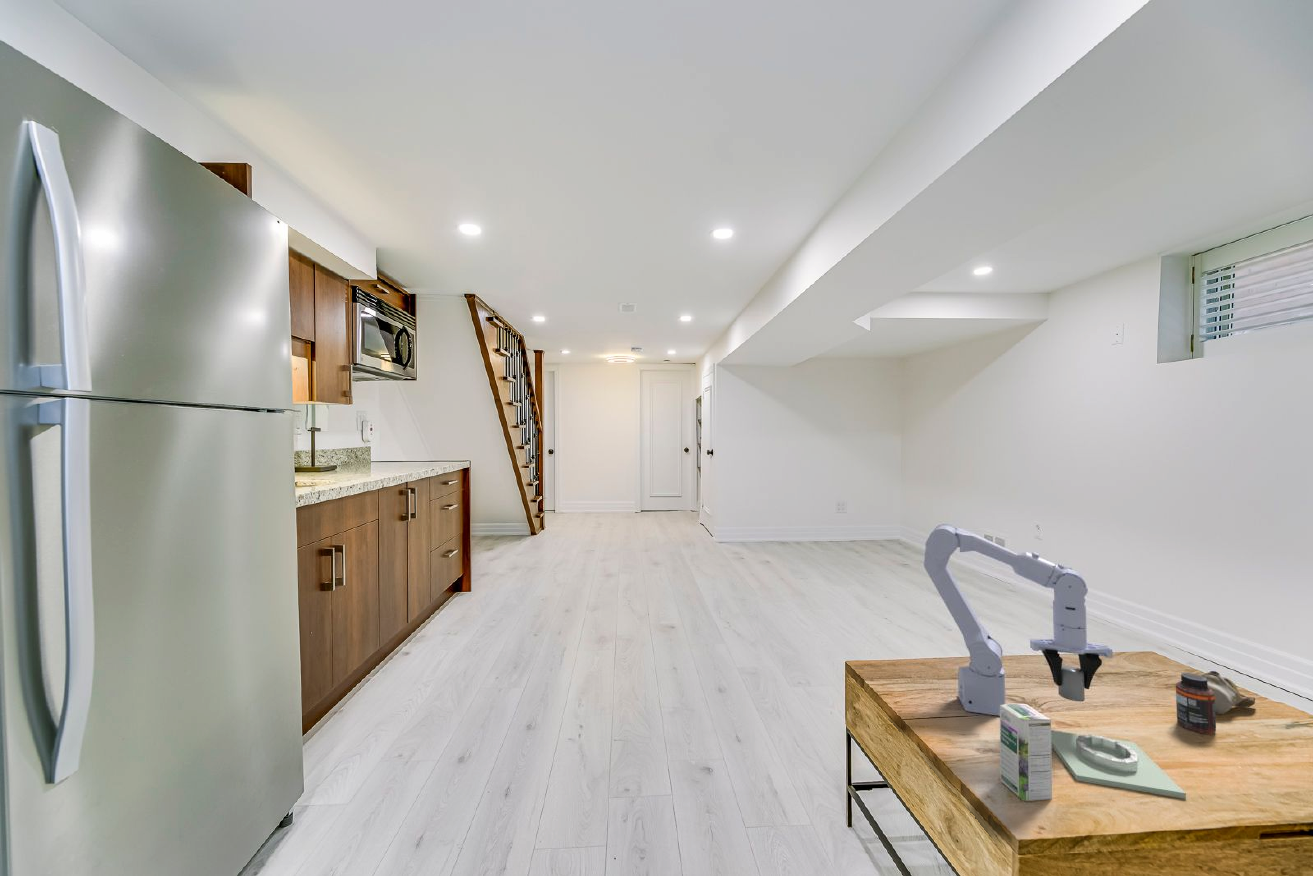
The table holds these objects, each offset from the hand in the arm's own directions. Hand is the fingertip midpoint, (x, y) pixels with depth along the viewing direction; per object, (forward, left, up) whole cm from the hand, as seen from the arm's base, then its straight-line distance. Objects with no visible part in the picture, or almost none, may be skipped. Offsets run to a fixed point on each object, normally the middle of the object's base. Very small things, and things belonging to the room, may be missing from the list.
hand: (1071, 685), depth 112 cm
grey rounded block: (0, 0, -2) cm, 2 cm away
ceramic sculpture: (+37, +22, -10) cm, 44 cm away
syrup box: (-17, -27, -10) cm, 33 cm away
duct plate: (+1, -13, -9) cm, 16 cm away
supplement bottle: (+26, +8, -10) cm, 29 cm away
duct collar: (+1, -13, -9) cm, 16 cm away
